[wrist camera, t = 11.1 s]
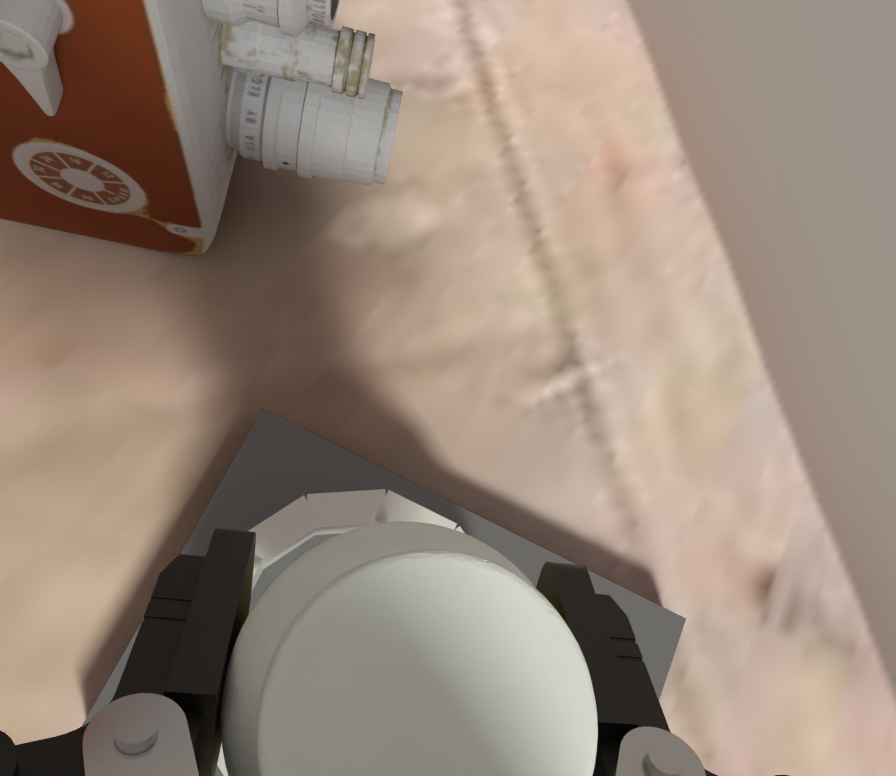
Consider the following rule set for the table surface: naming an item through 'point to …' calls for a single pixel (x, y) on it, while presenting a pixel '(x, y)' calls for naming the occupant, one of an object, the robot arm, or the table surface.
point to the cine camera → (177, 110)
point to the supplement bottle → (406, 666)
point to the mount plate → (342, 471)
